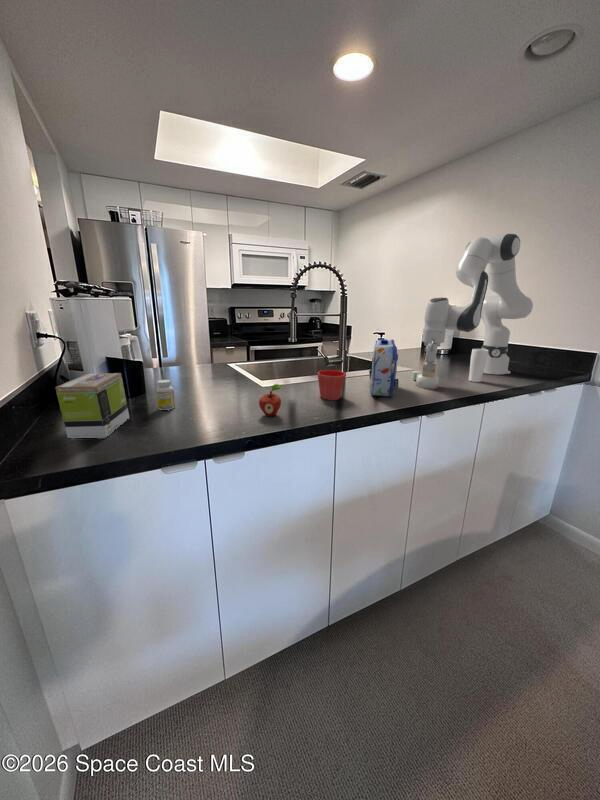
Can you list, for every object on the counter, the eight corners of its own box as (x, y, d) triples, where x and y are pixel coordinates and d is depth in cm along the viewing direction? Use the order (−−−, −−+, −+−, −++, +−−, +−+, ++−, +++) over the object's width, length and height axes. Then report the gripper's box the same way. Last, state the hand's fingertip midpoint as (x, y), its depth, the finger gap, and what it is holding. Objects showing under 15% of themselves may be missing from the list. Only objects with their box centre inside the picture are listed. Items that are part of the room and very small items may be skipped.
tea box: (96, 419, 97) (87, 372, 93) (130, 419, 98) (123, 372, 93) (66, 440, 83) (53, 385, 78) (106, 439, 84) (96, 385, 79)
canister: (416, 383, 146) (417, 372, 144) (437, 385, 143) (438, 374, 141) (415, 387, 138) (416, 376, 137) (437, 390, 135) (439, 378, 133)
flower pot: (347, 395, 125) (349, 371, 122) (339, 403, 116) (340, 377, 113) (322, 392, 129) (323, 368, 126) (312, 399, 120) (313, 374, 117)
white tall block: (478, 379, 153) (484, 348, 149) (485, 383, 147) (491, 350, 142) (464, 379, 154) (469, 348, 150) (470, 382, 148) (476, 350, 143)
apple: (272, 420, 98) (271, 389, 95) (255, 416, 101) (254, 386, 98) (286, 413, 104) (286, 384, 101) (269, 409, 108) (269, 381, 105)
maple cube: (422, 374, 142) (423, 363, 141) (434, 375, 140) (435, 363, 139) (421, 376, 138) (423, 365, 136) (434, 377, 136) (435, 366, 134)
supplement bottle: (167, 412, 104) (163, 383, 101) (154, 409, 106) (151, 382, 103) (178, 407, 109) (175, 380, 106) (166, 405, 111) (163, 378, 108)
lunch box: (397, 402, 118) (404, 342, 111) (369, 400, 120) (374, 341, 113) (392, 384, 143) (397, 334, 137) (369, 382, 145) (373, 334, 139)
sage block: (410, 378, 154) (411, 370, 153) (418, 379, 154) (419, 370, 153) (412, 380, 150) (413, 372, 149) (421, 381, 150) (422, 372, 149)
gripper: (441, 340, 124) (436, 375, 128) (440, 335, 142) (436, 366, 146) (424, 340, 126) (420, 373, 130) (425, 335, 144) (422, 365, 148)
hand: (428, 369), depth 138 cm, fingers open, 8 cm apart
